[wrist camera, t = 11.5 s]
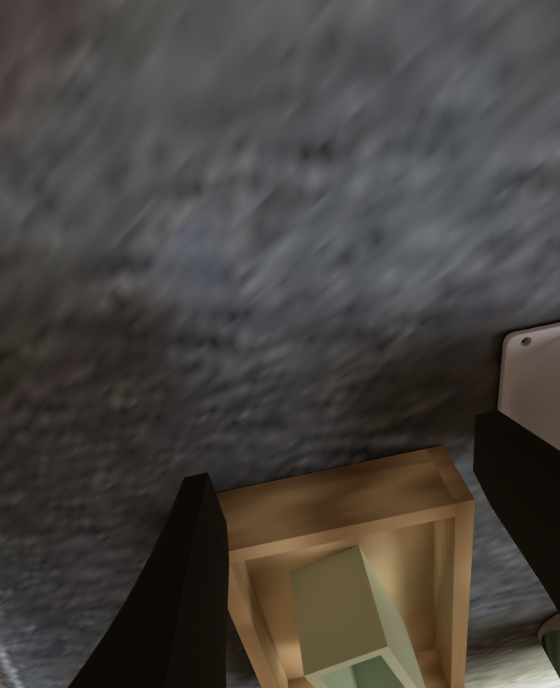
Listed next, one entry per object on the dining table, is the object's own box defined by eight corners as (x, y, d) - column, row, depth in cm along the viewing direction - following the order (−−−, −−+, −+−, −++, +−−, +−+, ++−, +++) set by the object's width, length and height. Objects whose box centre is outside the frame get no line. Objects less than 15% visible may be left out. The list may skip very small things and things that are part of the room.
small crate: (358, 544, 29) (387, 646, 24) (400, 612, 33) (433, 710, 28) (289, 571, 30) (303, 676, 24) (340, 634, 34) (361, 734, 29)
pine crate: (442, 445, 27) (474, 499, 23) (442, 639, 38) (463, 695, 35) (207, 494, 27) (205, 556, 23) (276, 674, 38) (281, 733, 35)
